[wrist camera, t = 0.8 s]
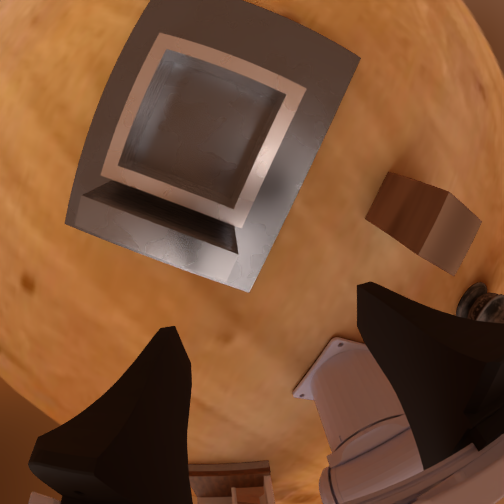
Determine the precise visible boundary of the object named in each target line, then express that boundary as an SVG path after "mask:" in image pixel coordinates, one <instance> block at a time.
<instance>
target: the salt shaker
mask: <svg viewBox="0 0 504 504" xmlns="http://www.w3.org/2000/svg"><path fill="white" fill-rule="evenodd" d="M456 316H458V317H462V318H467V319H472V320H477V321H484V322H493V323H504V295H502V294H500V295H498V294H496V293H487V287H486V285H485V284H484V283H482V282H479V283H476V284H474V285H472V286H471V287H470V288H469V289H468V290H467V291H466V292H465V294H464V295H463V297H462V298H461V300H460V302H459V304H458V307H457V311H456Z"/></svg>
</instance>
